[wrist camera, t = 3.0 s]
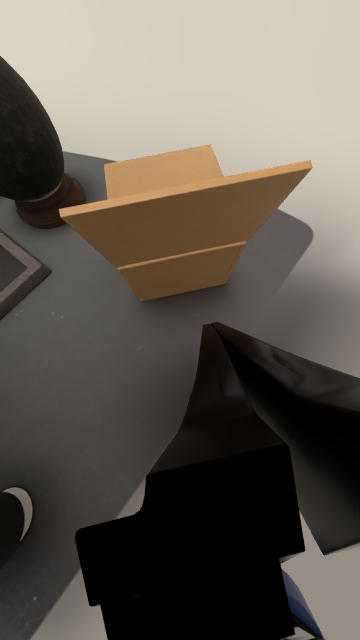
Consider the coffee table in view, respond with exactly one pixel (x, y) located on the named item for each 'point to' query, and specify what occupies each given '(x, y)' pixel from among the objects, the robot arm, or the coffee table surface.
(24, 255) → the picture frame
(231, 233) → the flap
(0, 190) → the black ball on stand
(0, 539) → the dixie cup
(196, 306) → the coffee table surface
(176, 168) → the carton
